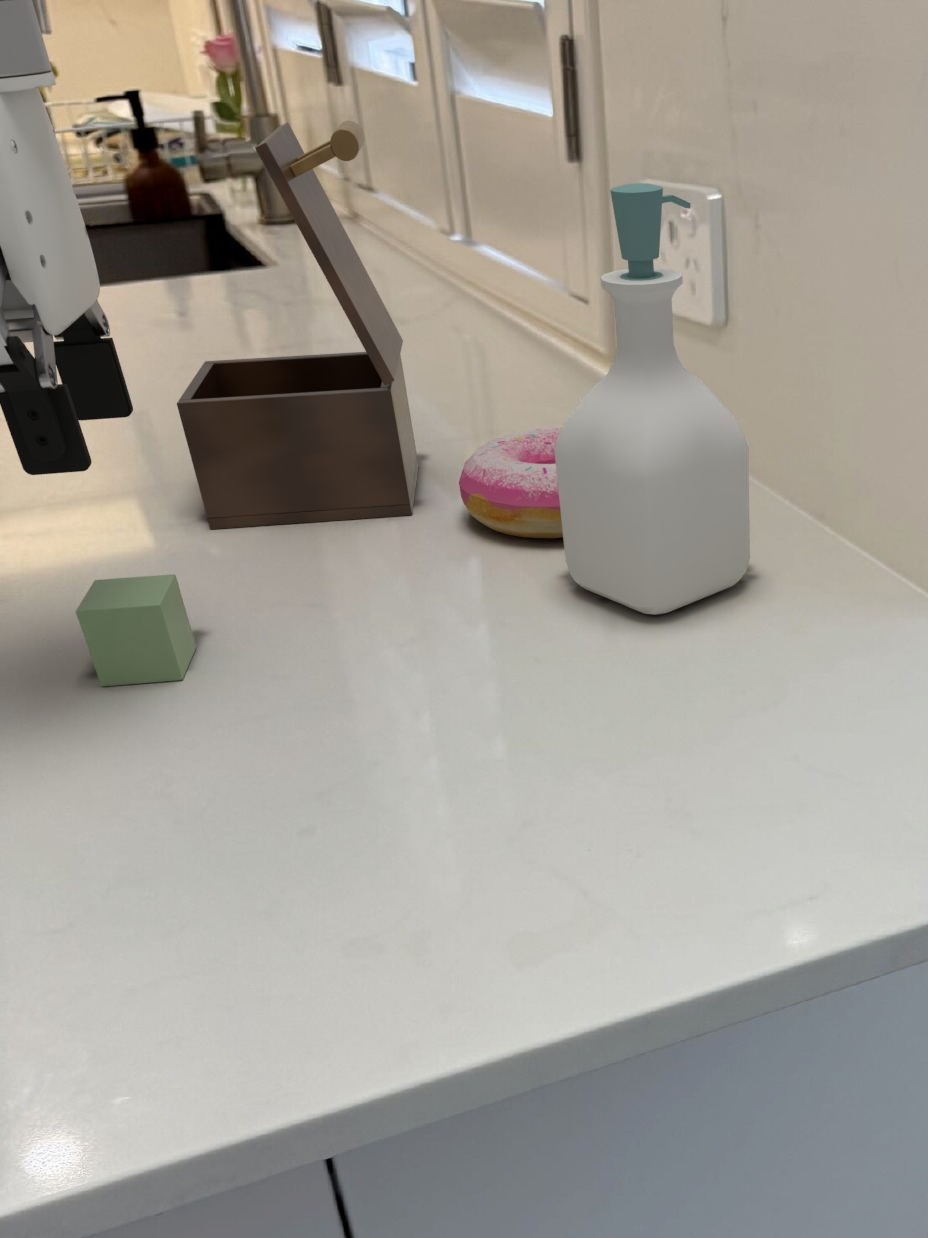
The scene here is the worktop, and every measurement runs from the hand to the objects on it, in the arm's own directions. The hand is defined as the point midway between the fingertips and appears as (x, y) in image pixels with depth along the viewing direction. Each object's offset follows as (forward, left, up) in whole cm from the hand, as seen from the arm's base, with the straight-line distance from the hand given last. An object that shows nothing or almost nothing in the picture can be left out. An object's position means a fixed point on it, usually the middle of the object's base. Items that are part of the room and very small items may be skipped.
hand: (83, 443), depth 70 cm
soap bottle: (+31, +6, -13) cm, 34 cm away
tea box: (+7, +29, -13) cm, 33 cm away
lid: (+11, +29, +3) cm, 31 cm away
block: (0, 0, -13) cm, 13 cm away
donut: (+25, +21, -13) cm, 35 cm away
